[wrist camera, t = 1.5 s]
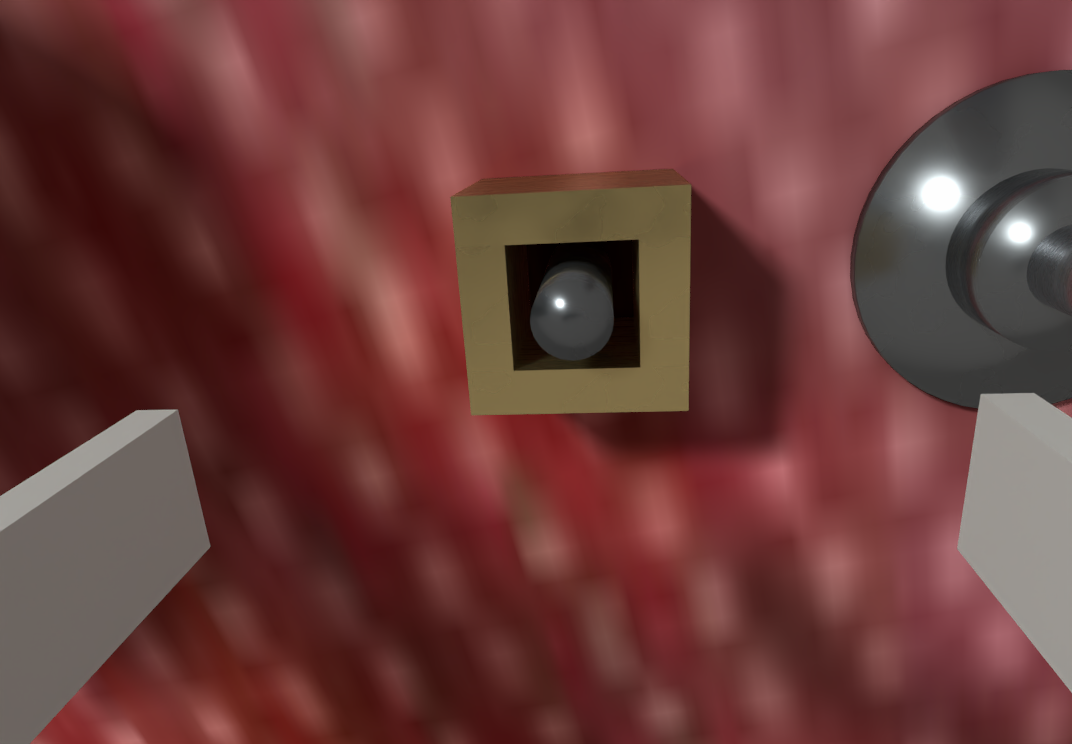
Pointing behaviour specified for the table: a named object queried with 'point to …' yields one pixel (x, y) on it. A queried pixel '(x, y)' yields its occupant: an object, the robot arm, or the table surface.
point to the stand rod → (574, 302)
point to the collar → (504, 299)
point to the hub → (975, 246)
